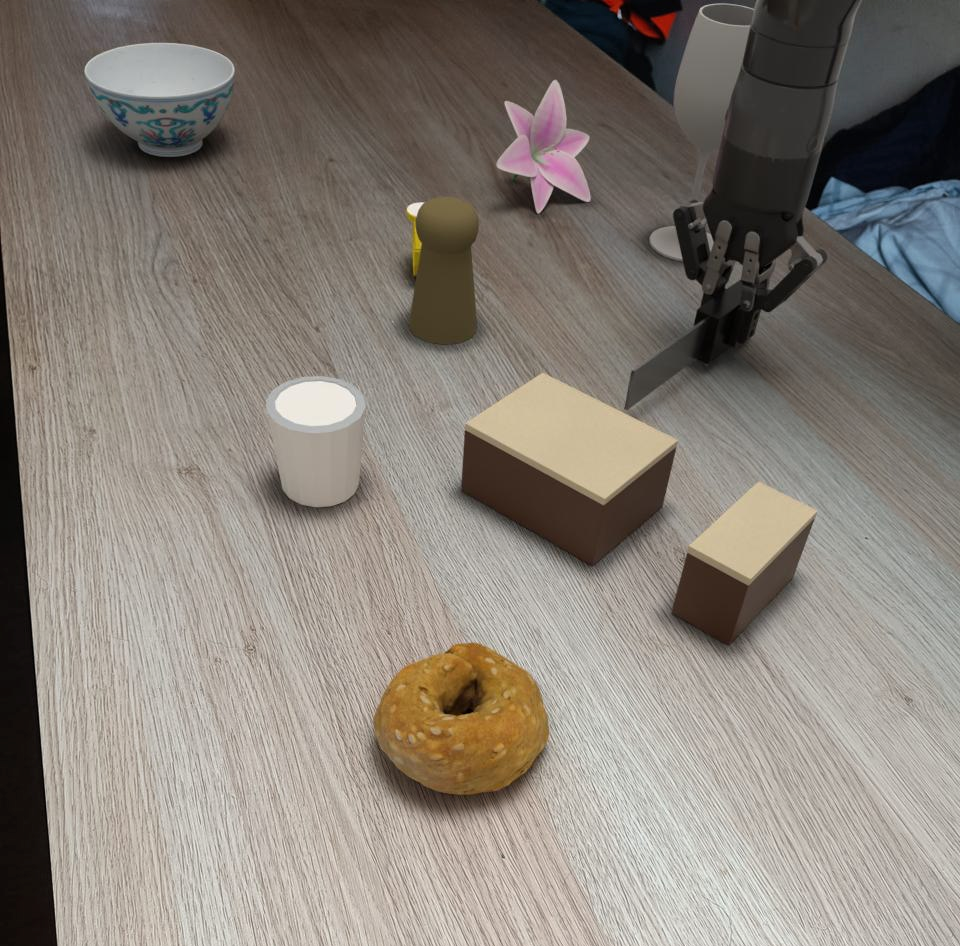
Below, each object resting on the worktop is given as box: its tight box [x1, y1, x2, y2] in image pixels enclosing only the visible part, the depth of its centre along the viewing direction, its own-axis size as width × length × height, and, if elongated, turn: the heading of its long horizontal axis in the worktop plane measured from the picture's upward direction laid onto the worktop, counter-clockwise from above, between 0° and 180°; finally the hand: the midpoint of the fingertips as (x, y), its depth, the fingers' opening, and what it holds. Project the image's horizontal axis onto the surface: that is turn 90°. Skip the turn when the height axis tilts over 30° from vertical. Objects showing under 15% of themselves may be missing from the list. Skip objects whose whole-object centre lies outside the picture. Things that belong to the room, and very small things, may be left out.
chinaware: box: [84, 42, 236, 158], centre depth 116 cm, size 15×15×8 cm
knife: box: [623, 278, 743, 411], centre depth 91 cm, size 19×2×4 cm, turn 141°
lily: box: [496, 79, 592, 214], centre depth 114 cm, size 12×12×10 cm
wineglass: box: [648, 3, 754, 263], centre depth 103 cm, size 8×8×21 cm
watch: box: [405, 201, 425, 278], centre depth 101 cm, size 6×3×6 cm, turn 4°
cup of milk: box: [265, 375, 367, 508], centre depth 78 cm, size 7×7×7 cm
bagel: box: [372, 642, 550, 796], centre depth 64 cm, size 10×11×5 cm
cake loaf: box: [460, 372, 679, 566], centre depth 79 cm, size 9×12×6 cm
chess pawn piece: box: [408, 196, 480, 345], centre depth 93 cm, size 6×6×11 cm
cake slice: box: [671, 481, 818, 646], centre depth 73 cm, size 9×4×6 cm, turn 141°
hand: (722, 336), depth 96 cm, fingers closed on knife, 2 cm apart
